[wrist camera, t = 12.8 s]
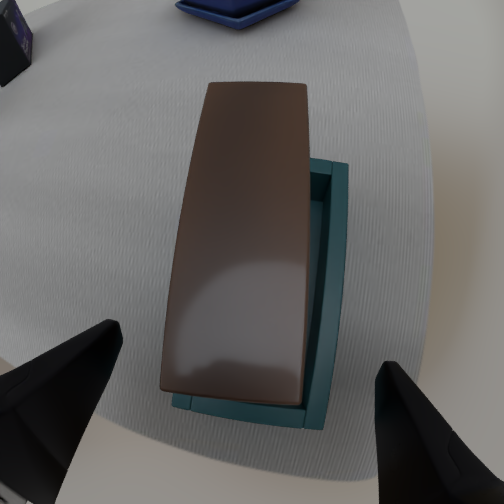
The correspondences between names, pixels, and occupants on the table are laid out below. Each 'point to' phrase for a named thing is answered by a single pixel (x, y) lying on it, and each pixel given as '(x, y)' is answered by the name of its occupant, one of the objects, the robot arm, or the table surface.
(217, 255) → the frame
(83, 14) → the table surface
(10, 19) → the box
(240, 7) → the flower pot
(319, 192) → the holder
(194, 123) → the table surface
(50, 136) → the table surface
